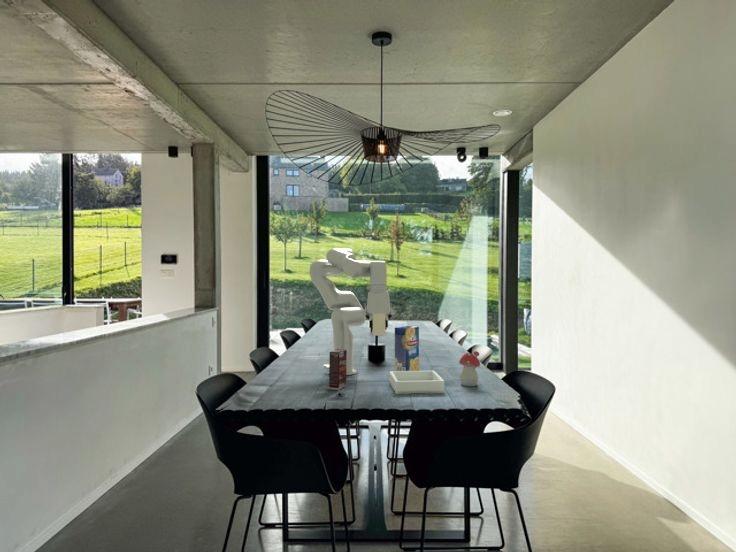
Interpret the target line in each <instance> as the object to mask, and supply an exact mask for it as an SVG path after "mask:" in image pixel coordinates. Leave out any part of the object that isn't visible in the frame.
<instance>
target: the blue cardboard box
mask: <svg viewBox="0 0 736 552" xmlns="http://www.w3.org/2000/svg"><path fill="white" fill-rule="evenodd" d="M419 336H420V326H416V325H403V326H397V327H396V326H395V327H394V371H420V361H419V360H420V359H419V357H420V353H419V352H420V345H419V344H420V337H419Z"/></svg>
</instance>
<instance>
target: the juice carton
mask: <svg viewBox="0 0 736 552" xmlns="http://www.w3.org/2000/svg"><path fill="white" fill-rule="evenodd" d="M372 321H373V330H371V335H372V336H375V337H376V336H386V330H385V314H373V317H372Z"/></svg>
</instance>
